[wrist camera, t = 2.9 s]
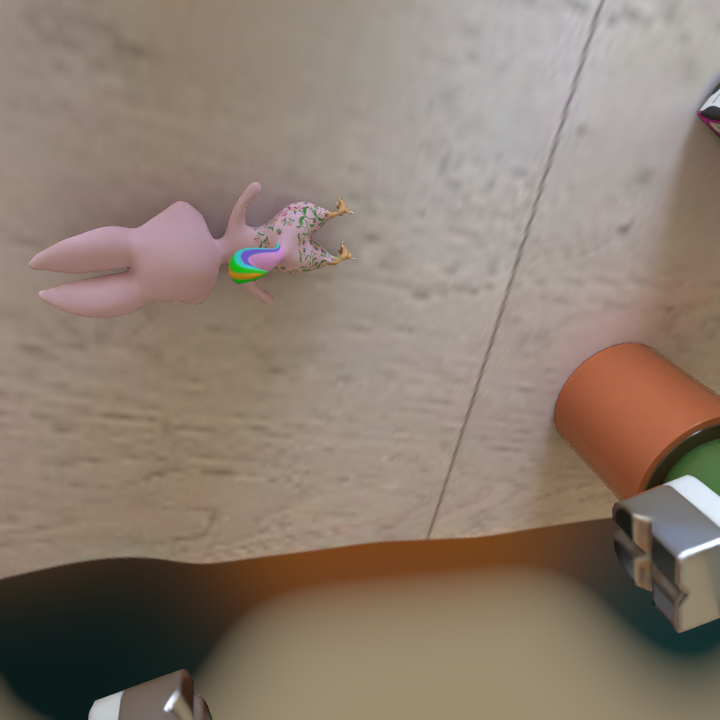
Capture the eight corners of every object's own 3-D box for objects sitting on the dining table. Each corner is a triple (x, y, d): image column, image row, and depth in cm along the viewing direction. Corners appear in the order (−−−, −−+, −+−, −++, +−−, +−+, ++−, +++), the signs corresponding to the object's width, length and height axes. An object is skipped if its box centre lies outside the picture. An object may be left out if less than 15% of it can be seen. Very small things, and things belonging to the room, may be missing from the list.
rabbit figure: (328, 161, 32) (13, 201, 27) (378, 186, 27) (6, 240, 22) (334, 273, 35) (53, 328, 30) (380, 312, 30) (54, 385, 25)
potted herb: (648, 318, 41) (900, 478, 27) (677, 403, 46) (903, 576, 32) (537, 391, 42) (726, 586, 28) (576, 468, 47) (755, 667, 32)
